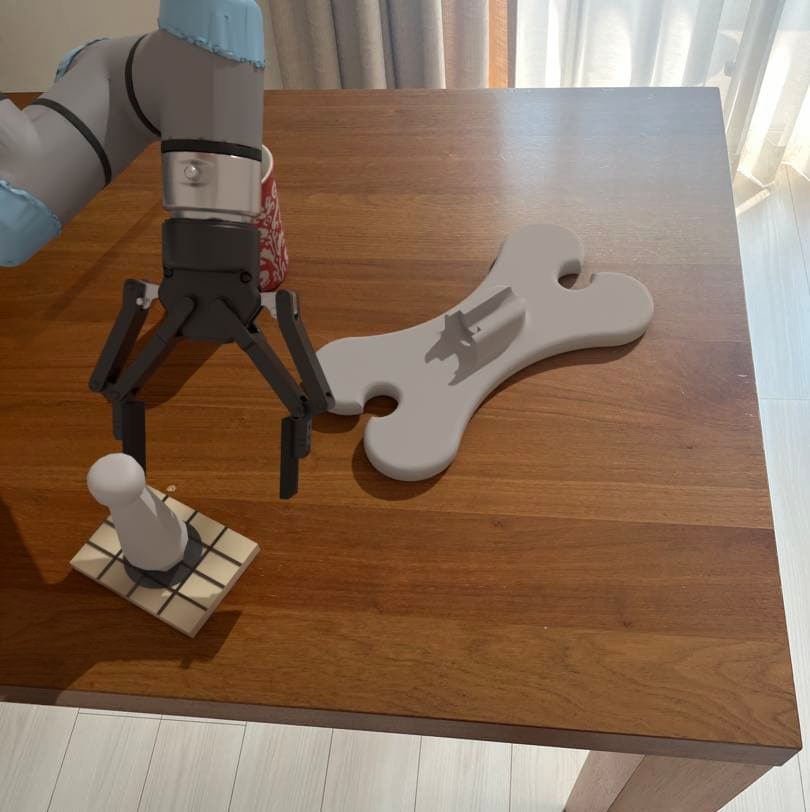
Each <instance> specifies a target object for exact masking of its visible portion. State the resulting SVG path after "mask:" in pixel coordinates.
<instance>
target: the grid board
mask: <svg viewBox="0 0 810 812" xmlns="http://www.w3.org/2000/svg"><path fill="white" fill-rule="evenodd" d="M145 485H146V486H147V487H148V488H149V489H150V490H151V491H152V492H153V493H154V494H155V495H156V496H157V497H158V498H159V499H160V500H161V501H163V502H164V503H165V504H166V505H167V506H168V507H169V508H170V509H171V510H173V511H174V512H175V513H176V514H177V515H178V516H179V517H180V518H181V520H182V521H183V522H184V523H185V524H186V528H187V534H188V542H187V544H186V547H185V550H184V556H183V560H181V561H180V562H179V563H177V564H176V565H175V566H173V567H172V568H170V569H169V570H168V571H166V572H165V571H158V570H144V569H142V568H139V567H136V566H133V565H132V564H131V563H130V562H129V561H128V559H127V558H126V557H125V555H124V554H123V552H122V549H121V545H120V542H119V539H118V536H117V532H116V529H115V526H114V523H113V519H112V516H111V514H110V515H109V516H107V518H105V519H104V520H103V523H102V524H101V525H100V526H99V527H98V529H96V531H95V532H94V533H93V534H92V535H91V537H90V538H89V539H87V540H86V541H85V544H84V545H83V546H82V547H81V548H80V550H79V551H78V552H77V553H76V554H75V555H74V556H73V558H72V559H71V560H70V561H69V562H68V563H69V564H70V565H71V567H72V568H73V569H74V570H76V571H78V572H79V573H81V574H83V575H84V576H86V577H88V578H89V579H90V580H92V581H94V582H96V583H97V584H99V585H101V586H103V587H105V588H106V589H107V590H109V591H111V592H113V593H115V594H116V595H118V596H120V597H121V598H123V599H125V600H127V601H128V602H130V603H132V604H133V605H135V606H137V607H139V608H140V609H142V610H143V611H145V612H146V613H149V614H150V615H152V616H154V617H155V618H157V619H159V620H160V621H162V622H164V623H165V624H167V625H169V626H170V627H172V628H174V629H176V630H177V631H180V632H181V633H182V634H183V635H186V636H188V637H189V638H191V639H194V638H195V637H196V636H197V634H198V633H199V631H200V630H201V629H202V628H203V626H204V625H205V624H206V622H207V621H208V620H209V618H210V617H211V616H212V614H213V613H214V612H215V611H216V610H217V608H218V606H219V605H220V604H221V603H222V602H223V600H224V599H225V597H226V596H227V595H228V594H229V592H230V591H231V589H232V588H233V587H234V586H235V584H236V583H237V581H238V580H239V579H240V578H241V576H242V575H243V574H244V573H245V571H246V570H247V569H248V567H249V566H250V565H251V564H252V562H253V561H254V559H255V558H256V557H257V556H258V554H259V553H260V551H261V548H260V545H259V544H258V543H257V542H255V541H253V540H251V539H250V538H248V537H246V536H244V535H242V534H240V533H238V532H237V531H234V530H233V529H231V528H229V527H228V526H226V525H223V524H222V523H220V522H217V521H216V520H214V519H212V518H210V517H209V516H206V515H204V514H203V513H201V512H199V511H198V510H195V509H193V508H192V507H190V506H188V505H185V504H184V503H182V502H180V501H178V500H176V499H174V498H173V497H171V496H170V495H168V494H165V493H163V492H161V491H160V490H158V489H156V488H154V487H151V486H150V485H148V484H146V483H145Z"/></svg>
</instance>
